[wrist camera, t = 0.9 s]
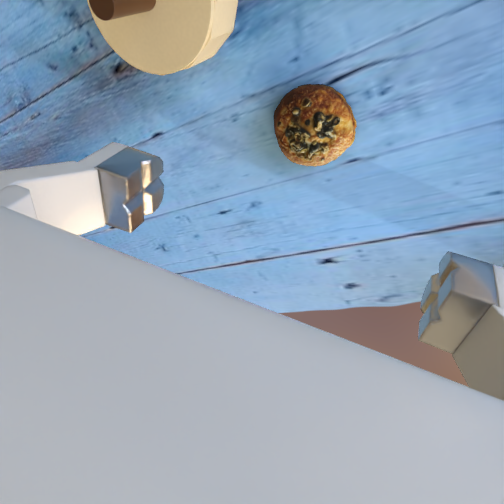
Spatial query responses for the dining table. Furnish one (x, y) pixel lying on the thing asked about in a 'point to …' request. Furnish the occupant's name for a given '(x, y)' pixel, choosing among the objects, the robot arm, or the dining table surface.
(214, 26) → the lid
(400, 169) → the dining table surface
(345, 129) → the bread roll
